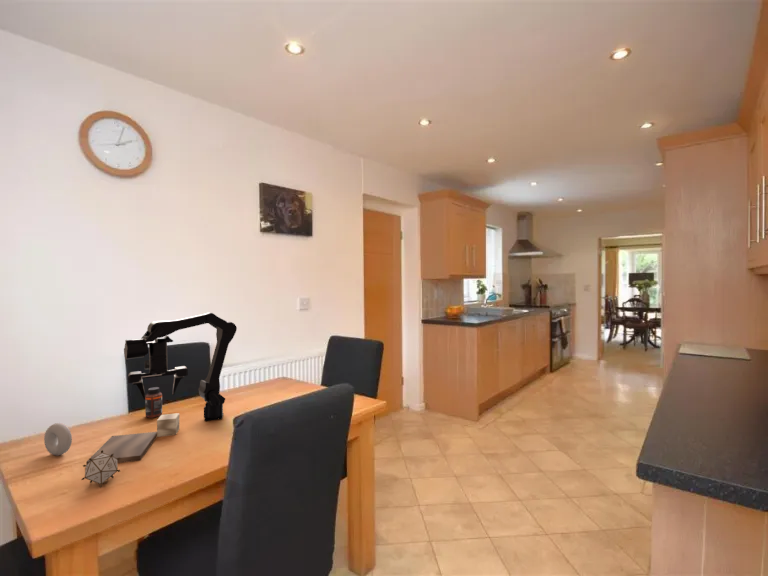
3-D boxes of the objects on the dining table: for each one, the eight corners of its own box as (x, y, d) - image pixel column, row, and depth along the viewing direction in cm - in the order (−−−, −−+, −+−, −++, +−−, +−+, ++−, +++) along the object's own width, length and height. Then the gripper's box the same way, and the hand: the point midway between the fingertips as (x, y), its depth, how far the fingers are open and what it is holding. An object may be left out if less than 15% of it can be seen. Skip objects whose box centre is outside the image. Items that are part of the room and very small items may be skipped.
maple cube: (179, 429, 142) (179, 413, 142) (175, 435, 136) (175, 418, 136) (161, 430, 140) (161, 414, 140) (157, 437, 135) (157, 420, 135)
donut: (74, 454, 120) (74, 423, 120) (62, 459, 117) (62, 427, 117) (53, 450, 123) (53, 419, 123) (41, 454, 120) (41, 423, 120)
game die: (98, 494, 104) (99, 457, 109) (128, 482, 105) (128, 445, 110) (71, 493, 97) (73, 453, 101) (104, 480, 97) (105, 441, 102)
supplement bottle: (165, 413, 159) (165, 386, 159) (155, 418, 153) (155, 390, 153) (152, 413, 160) (152, 386, 159) (141, 417, 154) (141, 390, 154)
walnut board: (157, 435, 136) (157, 431, 136) (140, 460, 116) (140, 455, 116) (111, 440, 131) (111, 436, 131) (86, 466, 112) (86, 461, 112)
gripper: (184, 349, 152) (185, 388, 152) (128, 354, 142) (129, 396, 142) (187, 353, 143) (188, 394, 143) (127, 359, 132) (128, 404, 133)
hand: (159, 397), depth 140 cm, fingers open, 9 cm apart
